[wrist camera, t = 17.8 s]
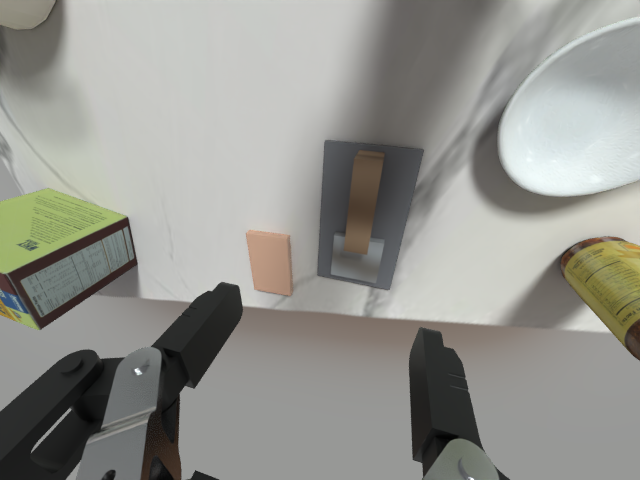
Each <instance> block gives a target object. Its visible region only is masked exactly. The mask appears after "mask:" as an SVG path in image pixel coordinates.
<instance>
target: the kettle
mask: <svg viewBox="0 0 640 480" xmlns="http://www.w3.org/2000/svg"><path fill="white" fill-rule="evenodd" d="M55 2H56V0H0V25H3V26H6V27H9V28H12V29H15V30H20V29H33V28H34V27H36V26H37V25H39V24H40V23H42V22H43V21H45V20H46V18H47V17H48V15H49V13H50V11H51V9H52V7H53V6H54V4H55Z"/></svg>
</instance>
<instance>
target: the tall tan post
mask: <svg viewBox="0 0 640 480" xmlns="http://www.w3.org/2000/svg"><path fill="white" fill-rule="evenodd" d="M384 155H385V153H384V152H374V151H365V150H359V152H358V153H357V155H356V156H355V158H354V164H353V173H352V182H351V190H350V199H349V208H348V217H347V225H346V233H341V232H335V234H334V242H333V253H332V265H331V274H332V275H337V276H342V277H347V278H352V279H357V280H362V281H367V282H372V283H376V281H377V276H378V271H379V266H380V261H381V257H382V252H383V247H384V240H383V239H377V238H371V237H370V236H371V230H372V225H373V219H374V213H375V207H376V201H377V196H378V190H379V184H380V178H381V173H382V167H383V161H384Z"/></svg>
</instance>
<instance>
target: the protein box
mask: <svg viewBox="0 0 640 480" xmlns="http://www.w3.org/2000/svg"><path fill="white" fill-rule="evenodd" d="M136 265H137V260H136V256H135V251H134V246H133V242H132V237H131V232H130V227H129V223H128V218H127V216H124V215H121V214H118V213H116V212H113V211H110V210H107V209H105V208H102V207H99V206H96V205H94V204H91V203H88V202H85V201H83V200H80V199H77V198H74V197H71V196H69V195H66V194H63V193H60V192H58V191H55V190H52V189H49V188H47V189H43V190H40V191H36V192H33V193H29V194H26V195H22V196H18V197H15V198H12V199H8V200H4V201H1V202H0V315H2V316H5V317H7V318H10V319H12V320H14V321H16V322H19V323H22V324H24V325H27V326H29V327H31V328H34V329H37V330H41V329H42V328H44V327H45V326H47V325H48V324H50V323H51V322H53V321H54V320H56V319H57V318H59V317H60V316H62V315H63V314H65V313H66V312H68V311H69V310H70V309H72V308H73V307H75V306H76V305H78V304H79V303H81V302H82V301H84V300H85V299H87V298H88V297H90V296H91V295H93V294H94V293H96V292H97V291H99V290H100V289H102V288H103V287H105V286H106V285H107V284H109V283H110V282H112V281H113V280H115V279H116V278H118V277H119V276H121V275H122V274H124V273H125V272H127V271H128V270H130V269H131V268H133V267H134V266H136Z"/></svg>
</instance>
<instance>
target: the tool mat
mask: <svg viewBox="0 0 640 480" xmlns="http://www.w3.org/2000/svg"><path fill="white" fill-rule="evenodd" d="M359 150H365V151H374V152H384V153H385V155H384V161H383V167H382V173H381V178H380V184H379V190H378V196H377V201H376V207H375V213H374V219H373V225H372V230H371V236H370V237H371V238H377V239H383V240H384V247H383V252H382V257H381V261H380V266H379V271H378V276H377V281H376V283H372V282H367V281H362V280H357V279H352V278H347V277H342V276H337V275H332V274H331V265H332V253H333V242H334V234H335V232H341V233H346V225H347V217H348V208H349V199H350V190H351V182H352V173H353V164H354V158H355V156H356V155H357V153H358V152H359ZM423 152H424V150H423V149H415V148H404V147H394V146H384V145H373V144H363V143H352V142H342V141H332V140H325V144H324V163H323V181H322V200H321V218H320V237H319V255H318V274H317V275H318V276H323V277H328V278H333V279H338V280H343V281H348V282H353V283H358V284H363V285H368V286H373V287H378V288H383V289H388V290H390V286H391V282H392V278H393V274H394V270H395V266H396V262H397V258H398V254H399V250H400V245H401V241H402V237H403V233H404V229H405V225H406V221H407V217H408V213H409V209H410V205H411V201H412V197H413V193H414V189H415V184H416V180H417V176H418V172H419V168H420V164H421V160H422V156H423Z"/></svg>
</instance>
